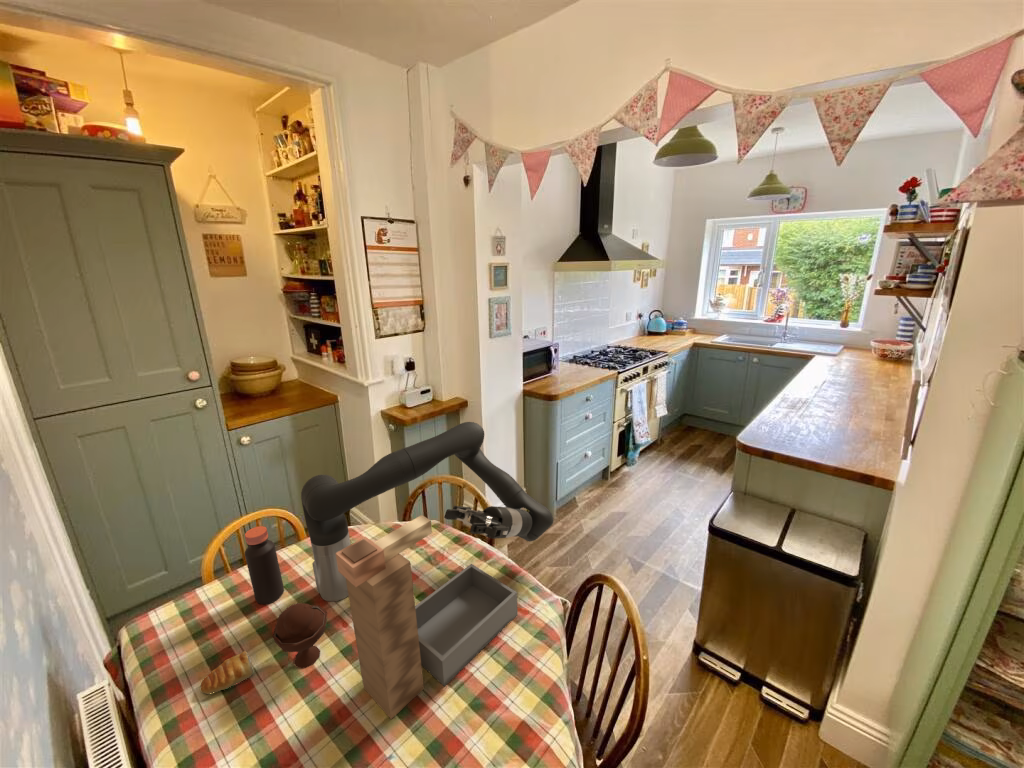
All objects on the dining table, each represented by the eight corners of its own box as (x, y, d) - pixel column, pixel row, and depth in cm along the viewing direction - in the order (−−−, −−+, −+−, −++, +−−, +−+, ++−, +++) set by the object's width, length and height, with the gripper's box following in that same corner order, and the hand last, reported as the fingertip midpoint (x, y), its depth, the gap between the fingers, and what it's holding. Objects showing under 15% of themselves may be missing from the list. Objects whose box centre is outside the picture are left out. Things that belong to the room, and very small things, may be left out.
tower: (395, 660, 95) (379, 539, 86) (423, 688, 89) (410, 561, 80) (363, 687, 90) (342, 561, 80) (391, 719, 83) (372, 586, 74)
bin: (472, 584, 117) (471, 563, 115) (517, 614, 107) (516, 592, 105) (399, 644, 99) (396, 620, 97) (444, 686, 89) (442, 661, 87)
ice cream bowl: (343, 643, 100) (334, 591, 96) (307, 686, 90) (295, 631, 86) (307, 631, 103) (297, 580, 99) (268, 672, 93) (255, 617, 89)
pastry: (204, 705, 87) (200, 691, 86) (199, 682, 92) (195, 669, 91) (256, 676, 93) (252, 662, 92) (249, 655, 98) (245, 642, 97)
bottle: (289, 591, 116) (276, 529, 110) (264, 609, 110) (249, 543, 104) (275, 582, 119) (262, 520, 113) (250, 598, 114) (234, 534, 108)
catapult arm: (418, 524, 91) (416, 507, 89) (436, 535, 87) (435, 517, 86) (338, 571, 78) (335, 551, 76) (355, 587, 74) (352, 566, 72)
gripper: (485, 498, 114) (443, 494, 101) (527, 518, 105) (486, 516, 92) (476, 526, 113) (433, 525, 100) (518, 548, 104) (476, 550, 91)
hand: (458, 521), depth 96 cm, fingers open, 8 cm apart
